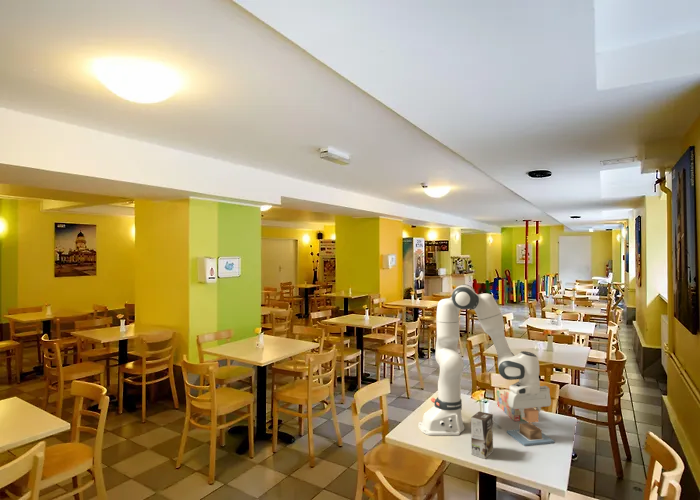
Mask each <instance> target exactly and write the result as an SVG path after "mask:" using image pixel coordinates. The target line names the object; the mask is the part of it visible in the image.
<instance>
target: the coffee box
mask: <svg viewBox="0 0 700 500" xmlns="http://www.w3.org/2000/svg"><path fill="white" fill-rule="evenodd" d="M493 416H494V415H493V414H492V413H488V412H483V411H478V412H476V413H475V414H473V415H472V416H471V419H470V420H471V421H470V422H471V423H470V424H471V425H470V427H471V429H470V430H471V431H470V432H471V433H470V434H471V435H470V436H471V437H470V438H471V443H470V444H471V447H470V448H471V451H470V452H471V455H472V456H476V457H478V458H481V459H484V460H485V459H487V458H488V457H489V455H491V454H492V453H493V452H494V434H493V433H494V427H493V426H494V425H493V424H494V418H493Z"/></svg>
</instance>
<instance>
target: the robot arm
mask: <svg viewBox="0 0 700 500" xmlns="http://www.w3.org/2000/svg"><path fill="white" fill-rule="evenodd" d="M460 310H474V312H475V314H476V317H477V320H478V322H479V324H480V327H481V329H482V330H483V332H484V333H485V334H486V335H488V336H489V337H490V338H491V341H492V343H493V345H494V349H495V351H496V354H497V360H496V361H497V362H496V364H497V368H498V373H499V375H500V376H501V377H502V378H503V379H505V380H508V381H512V380H515V381H517V380H518V381H517V382H515V383H513V384H511V385H509V387H508V388H509V389H508V390H511V391H510V392H509V397H508V405H509V406H510V407H511V408H512V409H519V410H520V412H521V416H522V417H523V418H526V413H524V412H523V411H524V408H534V409H536V410H537V411H538V417H540V412H541V410H542V407H545V408H546V407H550V406H551V405H552V399H551V395H550V394H551V393H550V391H551V390H550V387H549V386H547V385H541V381H540V378H539V376H540V363H539V362H540V361H539V357H538V356H537V355H536V354H535V353H533V352H530V351H526V350H524V351H520V352H519V353H516V354H514V353H513V352H512V350H511V349H510V347H509V343H508V342H507V339H506V336H505V321H504V318H503V314H502V312H501V309H500V307H499V305H498V302H496V299H495V298H494V296H493V295H492V294H490V293H487V292H486V293H479V294H478V293H476V291H475V289H474V288H473V287H472V285H469V284H460V285H457V287H455V289H453V291H452V294H451V296H450V297H448V298H442V299H440V300H439V301H438V303H437V307H436V313H435V314H436V316H435V317H436V318H435V319H436V321H435V322H436V342H435V353H434V357H435V361H436V363H437V364H438V367H439V375H438V381H437V397H436V398H435V397H431V398H430V401H431V402H432V404H433V403H434V405H433V406H432V407H430V408H429V409H428V410H426V411H425V412H424V414H423V415H422V421H419V422H418V423H417V427H418V429H419V430H420V431H421V432H422V433H424V434H425V435H427V436H460V435H461V433H462V432H463V431H464V430H465V426H464V421H463V415H462V408H463V404H462V398H461V396H462V395H461V393H462V392H461V390H462V389H461V386H462V384H461V383H462V377H463V371H464V369H465V363H464V359H463V357H462V356H461V355H460V353H459V352H458V345H459V341H460V340H459V339H460Z"/></svg>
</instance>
